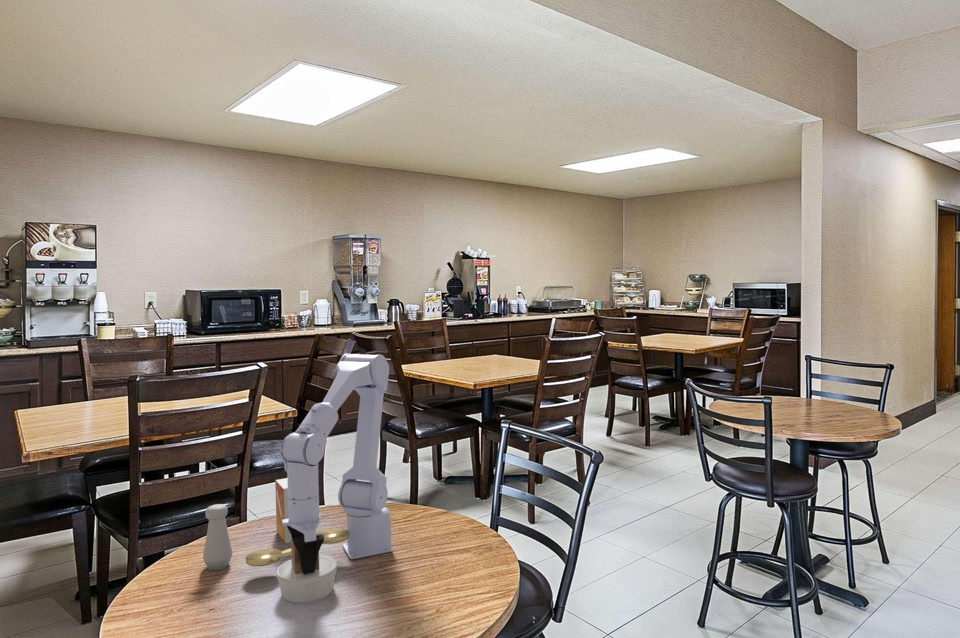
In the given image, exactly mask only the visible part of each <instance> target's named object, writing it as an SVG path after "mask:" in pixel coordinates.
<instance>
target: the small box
mask: <svg viewBox="0 0 960 638" xmlns="http://www.w3.org/2000/svg"><path fill="white" fill-rule="evenodd" d="M275 513H276V514H275V515H276V518H275V519H276V522H275V524H276V533H277V534H278V535H279V537H280V538H281V539H282V542H284V544H289V543H288V542H290V543H291V539H292V537H291V533H290V531H289V529H288V528H287V526H283V524H282V520H283V519H288V518H289V515H288V479H287V477H286V478H280V479H275Z"/></svg>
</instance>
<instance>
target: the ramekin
mask: <svg viewBox="0 0 960 638" xmlns="http://www.w3.org/2000/svg"><path fill="white" fill-rule="evenodd" d="M284 562H285V563H283V562H282V563H281V565H279V567H278V568H276V573H275V574H276V576H275V577H276V578H277V581H278V584H279V588H280V595H281V596H282V598H283V599H284V600H285V601H286V602H289V603H291V604H295V605H296V604H297V605H298V604H299V605H305V604H311V603H316V602H318V601H321V600H323V599H325V598H327V597H328V596H329V594H330V593H331V592H332V591H333V590H334V585H335V579H336V572H337V571H338V570H337V569H338V564H337V563H338V562H337V560H335V559H334V557H332V556H329V555H323V554H319V569H318V570H315V572H314V573H310V574H305V575H303V572H302V573H297V574H295V573H294V570H293V567H292V558H291V559H288V560H287V561H284Z"/></svg>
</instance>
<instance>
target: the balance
mask: <svg viewBox="0 0 960 638" xmlns="http://www.w3.org/2000/svg"><path fill="white" fill-rule="evenodd" d="M317 535H323V536H324V542H323V544H324V545H325V544H326V545H329V544H330V545H331V544H334V545H335V544H339V543H342V542H344V541H346V540H347V539H348V538H349V531H348V530H347V529H346V528H341V527H340V528H339V527H333V528H326V529H323V530H320V531H318V532H316V536H317ZM323 544H322V545H323ZM288 555H291V548H287V549H285V550H280V549H276V548H264V549H259V550H255V551H253V552H252V551H251V552H250V553H249V554H247V555H246V556H245V564H246V565H248V566H251V567H266V566H271V565H274V564H276V563H277V562H279V561H281V560H282V558H283V557H287V556H288ZM285 562H286V561H283V562H282V564H283V563H285Z"/></svg>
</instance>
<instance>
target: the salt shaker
mask: <svg viewBox="0 0 960 638" xmlns="http://www.w3.org/2000/svg"><path fill="white" fill-rule="evenodd" d="M228 511H229V509H228V506H227V505H226V504H223V503H219V504H218V503H217V504H212V505H209V506H207V508H206V509H205V518H206V519H207V520H208V526H207V531H206V538H205V544H204V548H203V555H202V559H203V562H204V563H205V565H206V567H207V569H208V570H209V571H220V570H223V569H226V568H227V567H228V566H229V564H230V562H231V560H232V558H233V547H232V544H231V543H232V542H231V538H230V535H229V534H230V533H229V530H228V525H227V521H226V517H227V516H228V513H229V512H228Z"/></svg>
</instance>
